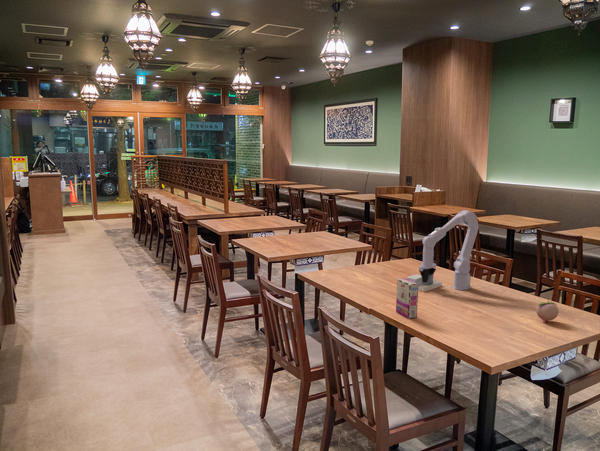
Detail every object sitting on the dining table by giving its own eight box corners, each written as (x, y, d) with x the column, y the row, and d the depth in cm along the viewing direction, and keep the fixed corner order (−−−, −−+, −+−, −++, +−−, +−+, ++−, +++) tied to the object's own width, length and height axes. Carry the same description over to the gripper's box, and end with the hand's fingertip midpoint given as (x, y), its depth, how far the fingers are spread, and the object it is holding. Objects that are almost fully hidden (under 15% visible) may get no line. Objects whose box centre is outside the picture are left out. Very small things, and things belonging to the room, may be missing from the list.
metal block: (425, 282, 274) (426, 272, 273) (432, 284, 271) (433, 274, 270) (421, 284, 271) (422, 273, 270) (428, 286, 268) (429, 275, 267)
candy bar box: (417, 318, 223) (419, 283, 221) (408, 319, 221) (409, 284, 219) (404, 310, 233) (405, 277, 231) (395, 311, 232) (396, 278, 229)
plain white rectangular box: (415, 281, 282) (416, 274, 282) (424, 284, 278) (425, 276, 277) (406, 285, 276) (406, 277, 275) (414, 287, 271) (415, 279, 270)
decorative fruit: (545, 326, 213) (547, 304, 212) (531, 319, 221) (533, 298, 219) (562, 324, 216) (564, 302, 214) (548, 318, 224) (550, 297, 222)
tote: (417, 281, 286) (417, 276, 286) (441, 286, 275) (441, 281, 274) (399, 286, 274) (399, 281, 274) (424, 292, 262) (424, 287, 262)
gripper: (428, 254, 276) (427, 277, 279) (414, 258, 267) (413, 282, 269) (439, 256, 271) (438, 280, 273) (425, 260, 262) (424, 284, 264)
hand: (427, 281), depth 271 cm, fingers closed on metal block, 4 cm apart
